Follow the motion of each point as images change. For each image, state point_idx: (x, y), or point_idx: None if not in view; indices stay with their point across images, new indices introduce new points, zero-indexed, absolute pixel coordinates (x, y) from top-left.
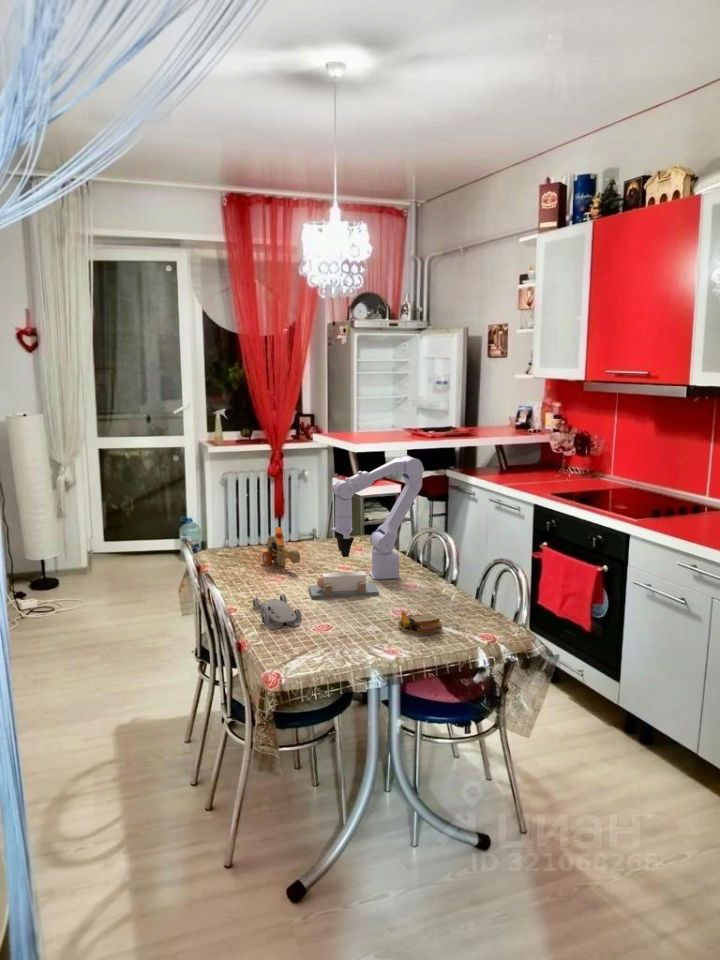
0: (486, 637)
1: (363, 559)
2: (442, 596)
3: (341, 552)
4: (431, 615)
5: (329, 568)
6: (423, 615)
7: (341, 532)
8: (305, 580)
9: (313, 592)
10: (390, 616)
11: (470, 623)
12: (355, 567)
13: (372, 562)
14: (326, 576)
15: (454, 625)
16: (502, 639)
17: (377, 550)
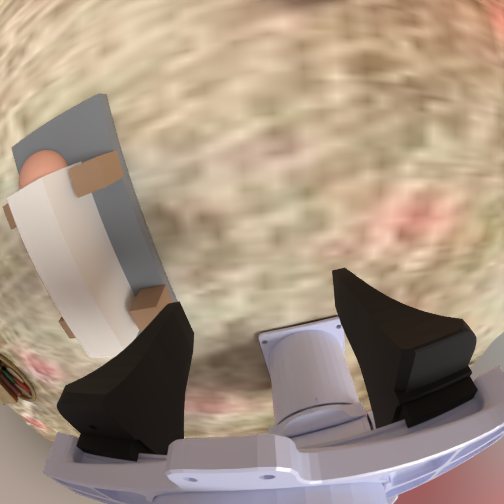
0: (34, 421)
1: (480, 277)
2: None
3: (153, 320)
4: (10, 400)
5: (419, 154)
6: (5, 392)
7: (81, 476)
8: (233, 46)
9: (34, 141)
10: (15, 346)
11: (60, 426)
12: (417, 260)
13: (305, 369)
14: (14, 209)
15: (42, 410)
16: (40, 430)
17: (288, 433)
